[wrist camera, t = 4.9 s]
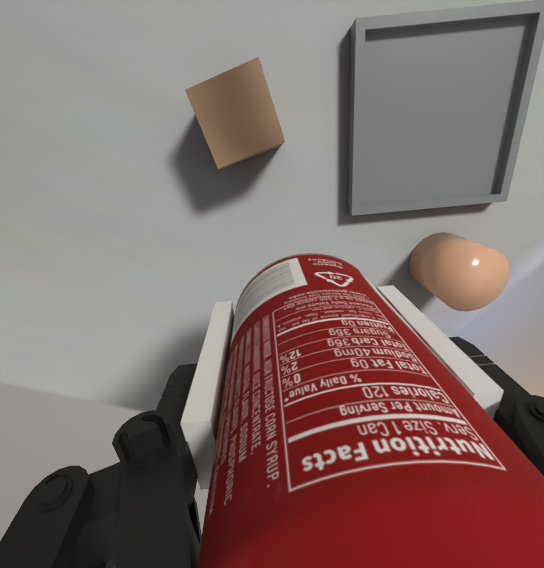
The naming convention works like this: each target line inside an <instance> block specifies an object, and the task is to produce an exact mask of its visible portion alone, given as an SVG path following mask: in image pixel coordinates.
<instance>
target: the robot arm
mask: <svg viewBox="0 0 544 568" xmlns="http://www.w3.org/2000/svg"><path fill="white" fill-rule="evenodd" d="M377 291H378V292H379V293H380V294H381V295H382V296H383V297H384V298H385V299H386V301H387V302H388V303H389V304H390V305H391V306H392V307H393V308H394V310H395V311H396V312H397V313H398V314H399V315H400V316H401V317H402V318H403V320H404V321H405V322H406V323H407V324H408V325H409V326H410V327H411V329H412V330H413V331H414V332H415V333H416V334H417V335H418V336H419V337H420V339H421V340H422V341H423V342H424V343H425V344H426V345H427V346H428V348H429V349H430V350H431V351H432V352H433V353H434V354H435V355H436V356H437V358H438V359H439V360H440V361H441V362H442V363H443V364H444V365H445V367H446V368H447V369H448V370H449V371H450V372H451V373H452V374H453V375H454V377H455V378H456V379H457V380H458V381H459V382H460V383H461V384H462V386H463V387H464V388H465V389H466V390H467V391H468V392H469V393H470V394H471V396H472V397H473V398H474V399H475V400H476V401H477V402H478V403H479V405H480V406H481V407H482V408H483V409H484V410H485V411H486V412H487V413H488V415H489V416H490V417H491V418H492V419H493V420H494V421H495V422H496V424H497V425H498V426H499V427H500V428H501V429H502V430H503V431H504V432H505V434H506V435H507V436H508V437H509V438H510V439H511V440H512V441H513V443H514V444H515V445H516V446H517V447H518V448H519V449H520V450H521V451H522V453H523V454H524V455H525V456H526V457H527V458H528V459H529V460H530V462H531V463H532V464H533V465H534V466H535V467H536V468H537V469H538V470H539V472H540V473H541V474H542V475H543V476H544V397H540V396H536V395H530V394H529V393H528V392H527V391H526V390H525V389H523V388H522V387H521V386H520V385H519V384H518V383H517V382H515V381H514V380H513V379H512V378H511V377H510V376H509V375H507V374H506V373H505V372H504V371H503V370H502V369H501V368H499V367H498V366H497V365H496V364H495V365H494V363H493V361H491V360H490V359H489V358H488V357H487V356H484V354H483V353H482V352H481V351H480V350H479V349H478V348H476V347H475V346H474V345H473V344H471V343H469V342H467V341H465V340H463V339H461V338H460V337H450V338H448V337H447V336H446V335H445V334H444V333H443V332H442V331H441V330H440V329H439V328H437V327H436V326H435V325H434V324H433V323H432V322H431V321H430V320H429V319H428V318H427V317H426V316H425V315H424V314H423V313H422V312H421V311H420V310H419V309H417V308H416V307H415V306H414V305H413V304H412V303H411V302H410V301H409V300H408V299H407V298H406V297H405V296H404V295H403V294H402V293H401V292H400V291H399V290H398V289H396V288H395V287H394V286H393V285H391V286H381V287H377ZM233 323H234V311H233V305H232V301H228V302H218V303H215V306H214V310H213V313H212V317H211V320H210V323H209V327H208V330H207V334H206V337H205V341H204V344H203V347H202V351H201V354H200V358H199V361H198V364H188V365H179V366H178V367H177V369H176V370H175V371H174V372H173V373H172V374H171V375H170V377H169V379H168V382H167V384H166V389H164V392H163V394H162V399H160V402H159V404H158V407H157V409H156V411H153V410H152V411H147V412H142V413H140V414H138V415H136V416H134V417H132V418H131V419H129V420H128V421H127V422H126V423H124V424H123V425H122V426H121V428H120V429H119V430H118V431H117V433H116V434H115V437H114V439H113V442H112V444H113V446H114V449H115V451H116V453H117V455H118V457H119V459H120V462H118V463H116V464H114V465H112V466H109V467H107V468H104V469H102V470H99V471H97V472H94V473H91V474H89V475H88V473H87V471H86V470H85V469H84V468H82V467H80V466H68V467H65V468H62V469H59V470H57V471H55V472H54V473H52V474H50V475H49V476H47V477H46V478H44V479H43V480H42V481H41V482H40V483H39V484H38V485H37V486H35V488H34V489H33V490H32V491H31V492H30V494H29V495H28V496H27V498H26V499H25V501H24V502H23V504H22V506H21V507H20V509H19V511H18V513H17V514H16V516H15V517H14V519H13V521H12V522H11V524H10V526H9V528H8V530H7V531H6V533H5V535H4V536H3V538H2V539H1V541H0V568H114V567H115V568H197V566H198V559H199V552H200V546H201V539H202V535H201V530H200V522H199V516H198V509H197V503H196V501H195V498H194V494H195V489H196V483H197V479H198V482H199V485H200V488H201V489H209V485H210V478H211V471H212V465H213V458H214V451H215V445H216V438H217V431H218V424H219V418H220V411H221V404H222V397H223V391H224V384H225V377H226V370H227V364H228V357H229V350H230V343H231V337H232V330H233Z"/></svg>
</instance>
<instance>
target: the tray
mask: <svg viewBox="0 0 544 568" xmlns="http://www.w3.org/2000/svg"><path fill="white" fill-rule="evenodd" d="M543 40H544V0H534V1H524V2H514V3H504V4H494V5H484V6H474V7H464V8H455V9H445V10H435V11H425V12H415V13H405V14H395V15H385V16H375V17H365V18H356V19H355V21H354V23H353V24H352V26H351V45H350V106H349V167H348V214H350V215H352V216H354V215H365V214H375V213H386V212H397V211H408V210H418V209H429V208H440V207H450V206H461V205H472V204H482V203H493V202H504V201H507V197H508V193H509V188H510V184H511V180H512V175H513V171H514V167H515V162H516V158H517V153H518V149H519V145H520V140H521V136H522V132H523V127H524V123H525V118H526V114H527V110H528V105H529V101H530V96H531V92H532V88H533V83H534V79H535V75H536V70H537V66H538V61H539V57H540V53H541V48H542V44H543Z"/></svg>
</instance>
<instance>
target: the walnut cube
mask: <svg viewBox="0 0 544 568" xmlns="http://www.w3.org/2000/svg"><path fill="white" fill-rule="evenodd" d="M185 91H186V93H187V95H188V98H189V100H190V103H191V105H192V107H193V110H194V112H195V115H196V117H197V120H198V122H199V124H200V127H201V129H202V132H203V134H204V136H205V139H206V141H207V144H208V146H209V149H210V151H211V153H212V156H213V158H214V161H215V163H216V165H217V168H218V169H222V168H228V167H230V166H232V165H235V164H237V163H240V162H242V161H245V160H247V159H250V158H252V157H254V156H257V155H259V154H262V153H264V152H267V151H269V150H272V149H274V148H277V147H279V146H281V145H282V144H283V143H284V142H285V140H284V137H283V134H282V131H281V127H280V124H279V121H278V118H277V115H276V112H275V108H274V105H273V102H272V99H271V96H270V93H269V89H268V86H267V83H266V80H265V77H264V74H263V70H262V67H261V64H260V61H259V58H258V57H257V58H255V59H253V60H251V61H248V62H246V63H244V64H242V65H240V66H237V67H235V68H233V69H231V70H228V71H226V72H224V73H222V74H220V75H217V76H215V77H213V78H211V79H208V80H206V81H204V82H202V83H200V84H197V85H195V86H193V87H191V88H188V89H186V90H185Z"/></svg>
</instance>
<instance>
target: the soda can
mask: <svg viewBox="0 0 544 568" xmlns="http://www.w3.org/2000/svg"><path fill="white" fill-rule="evenodd" d="M197 568H544V476H543V475H542V474H541V473H540V472H539V470H538V469H537V468H536V467H535V466H534V465H533V464H532V463H531V462H530V460H529V459H528V458H527V457H526V456H525V455H524V454H523V453H522V451H521V450H520V449H519V448H518V447H517V446H516V445H515V444H514V443H513V441H512V440H511V439H510V438H509V437H508V436H507V435H506V434H505V432H504V431H503V430H502V429H501V428H500V427H499V426H498V425H497V424H496V422H495V421H494V420H493V419H492V418H491V417H490V416H489V415H488V413H487V412H486V411H485V410H484V409H483V408H482V407H481V406H480V405H479V403H478V402H477V401H476V400H475V399H474V398H473V397H472V396H471V394H470V393H469V392H468V391H467V390H466V389H465V388H464V387H463V386H462V384H461V383H460V382H459V381H458V380H457V379H456V378H455V377H454V375H453V374H452V373H451V372H450V371H449V370H448V369H447V368H446V367H445V365H444V364H443V363H442V362H441V361H440V360H439V359H438V358H437V356H436V355H435V354H434V353H433V352H432V351H431V350H430V349H429V348H428V346H427V345H426V344H425V343H424V342H423V341H422V340H421V339H420V337H419V336H418V335H417V334H416V333H415V332H414V331H413V330H412V329H411V327H410V326H409V325H408V324H407V323H406V322H405V321H404V320H403V318H402V317H401V316H400V315H399V314H398V313H397V312H396V311H395V310H394V308H393V307H392V306H391V305H390V304H389V303H388V302H387V301H386V299H385V298H384V297H383V296H382V295H381V294H380V293H379V292H378V291H377V289H376V288H375V287H374V286H373V285H372V284H371V283H370V282H369V280H368V279H367V278H366V277H365V276H364V275H363V274H362V273H361V272H360V271H359V270H358V269H357V268H355V267H354V266H353V265H351V264H349V263H348V262H346V261H344V260H342V259H339V258H336V257H333V256H329V255H325V254H316V253H307V254H298V255H293V256H289V257H285V258H283V259H280V260H278V261H276V262H274V263H271V264H270V265H268V266H267V267H265V268H264V269H262V270H261V271H260V272H258V273H257V274H256V275H255V276H254V277H253V278H252V279H251V280H250V281H249V283H248V284H247V285H246V287H245V288H244V290H243V292H242V293H241V295H240V298H239V300H238V303H237V306H236V311H235V316H234V323H233V330H232V337H231V343H230V350H229V357H228V364H227V370H226V377H225V384H224V391H223V397H222V404H221V411H220V418H219V424H218V431H217V438H216V445H215V451H214V458H213V465H212V471H211V478H210V485H209V492H208V498H207V505H206V512H205V519H204V526H203V533H202V539H201V546H200V552H199V559H198V566H197Z"/></svg>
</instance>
